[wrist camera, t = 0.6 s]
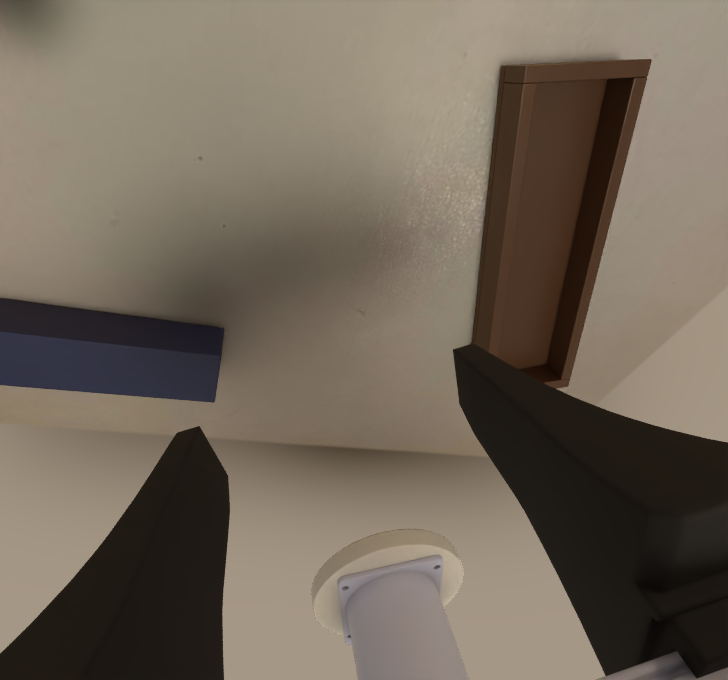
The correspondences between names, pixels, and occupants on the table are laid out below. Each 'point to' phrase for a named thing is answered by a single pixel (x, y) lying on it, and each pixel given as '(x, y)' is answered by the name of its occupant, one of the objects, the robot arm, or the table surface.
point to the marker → (107, 352)
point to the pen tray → (551, 206)
